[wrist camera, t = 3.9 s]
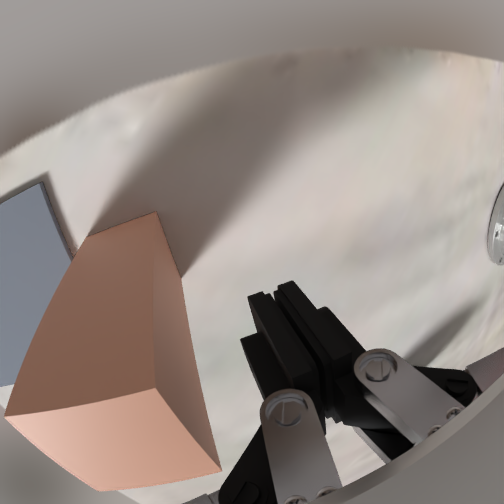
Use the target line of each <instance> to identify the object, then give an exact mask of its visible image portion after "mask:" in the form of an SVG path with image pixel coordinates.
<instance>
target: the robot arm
mask: <svg viewBox="0 0 504 504" xmlns="http://www.w3.org/2000/svg"><path fill="white" fill-rule="evenodd" d="M488 252H489V257H490V259H491V260H492V261H493V262H494V263H496V264H497V265H503V264H504V186H503V188H502V190H501V191H500V194H499V196H498V198H497V201H496V204H495V206H494V210H493V213H492V217H491V222H490V226H489V233H488ZM274 298H275V300H274V299H273V297H272V296H271V294H270V293H268V294H264V293H263V292H259V293H256V294H253V295H250V296H248V302H249V305H250V309H251V312H252V316H253V319H254V323H255V326H256V330H257V333H255V334H252V335H250V336H247V337H244V338H241V339H240V341H241V344H242V347H243V350H244V352H245V355H246V358H247V361H248V363H249V366H250V368H251V371H252V373H253V376H254V378H255V381H256V383H257V385H258V388H259V390H260V392H261V395H262V397H263V399H264V402H263V403H262V405H261V408H260V420H261V425H260V427H259V429H258V430H257V432H256V434H255V435H254V437H253V438H252V440H251V442H250V443H249V445H248V446H247V448H246V450H245V451H244V453H243V454H242V456H241V457H240V459H239V461H238V462H237V464H236V465H235V467H234V468H233V470H232V471H231V473H230V474H229V476H228V477H227V479H226V480H225V482H224V483H223V485H222V486H221V488H220V490H218V491H216V492H213V493H211V494H209V495H207V494H204V495H201V496H199V497H197V498H195V499H192V500H190V501H188V502H185V503H183V504H504V348H501V349H499V350H498V351H496V352H494V353H492V354H490V355H488V356H486V357H484V358H482V359H480V360H478V361H476V362H474V363H472V364H470V365H468V366H466V368H465V370H463V371H462V370H456V369H442V368H429V367H418V366H412V365H410V364H409V363H408V362H406V361H405V360H404V359H402V358H401V357H400V356H399V355H397V354H396V353H394V352H392V351H391V350H387V349H372V350H368V351H366V350H365V349H364V348H363V347H362V346H361V345H360V343H359V342H358V341H357V340H356V339H355V338H354V337H353V335H352V334H351V333H350V332H349V331H348V330H347V329H346V327H345V326H344V325H343V324H342V323H341V322H340V321H339V319H338V318H337V317H336V316H335V315H334V314H333V313H332V311H331V310H330V309H329V308H328V307H322V308H320V309H316V307H315V306H314V305H313V304H312V303H311V301H310V300H309V299H308V298H307V297H306V295H305V294H304V293H303V292H302V291H301V289H300V288H299V287H298V286H297V285H296V283H295V282H294V281H289V282H286V283H284V284H281V285H278V290H276V291H274ZM325 417H326V418H327V419H328V418H330V417H332V418H333V420H334V421H335V423H339V422H341V421H342V422H343V424H344V425H348V426H352V427H353V429H354V431H355V432H356V433H357V434H358V435H359V436H360V437H361V438H362V439H363V440H364V441H365V443H366V444H367V445H368V446H369V447H370V448H371V449H372V450H373V451H374V452H375V453H376V454H377V455H378V456H379V457H380V458H381V459H382V460H383V461H384V462H385V463H386V465H384V466H382V467H380V468H379V469H377V470H375V471H373V472H371V473H370V474H368V475H366V476H364V477H362V478H360V479H358V480H356V481H354V482H352V483H350V484H348V485H346V486H344V487H342V484H341V481H340V478H339V475H338V472H337V469H336V466H335V463H334V461H333V458H332V455H331V452H330V449H329V446H328V443H327V441H326V438H325V435H326V424H325Z"/></svg>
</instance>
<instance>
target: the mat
mask: <svg viewBox="0 0 504 504" xmlns="http://www.w3.org/2000/svg"><path fill="white" fill-rule="evenodd" d="M72 260H73V256H72V254H71V252H70V250H69V248H68V245H67V243H66V241H65V239H64V236H63V234H62V232H61V229H60V227H59V224H58V222H57V219H56V217H55V214H54V212H53V209H52V207H51V204H50V201H49V199H48V196H47V193H46V190H45V187H44V185H43V182H41V183H39V184H37V185H35V186H33V187H31V188H29V189H27V190H25V191H23V192H21V193H19V194H18V195H16V196H14V197H12V198H10V199H8V200H7V201H5V202H3V203H1V204H0V387H2V386H7V385H12V384H15V381H16V379H17V376H18V373H19V371H20V368H21V365H22V363H23V360H24V358H25V355H26V353H27V351H28V348H29V346H30V343H31V341H32V339H33V337H34V334H35V332H36V330H37V328H38V326H39V323H40V321H41V319H42V317H43V315H44V313H45V311H46V309H47V307H48V305H49V303H50V301H51V299H52V297H53V295H54V293H55V291H56V289H57V287H58V285H59V283H60V282H61V280H62V278H63V276H64V274H65V272H66V271H67V269H68V267H69V265H70V264H71V262H72Z"/></svg>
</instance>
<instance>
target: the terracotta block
mask: <svg viewBox="0 0 504 504" xmlns="http://www.w3.org/2000/svg"><path fill="white" fill-rule="evenodd" d="M4 418H5V419H6V420H7V421H9V422H10V423H11V424H12V425H13V426H14V427H15V428H16V429H17V430H18V431H19V432H20V433H21V434H22V435H23V436H25V437H26V438H27V439H28V440H29V441H30V442H31V443H33V444H34V445H35V446H36V447H37V448H39V449H40V450H41V451H42V452H43V453H45V454H46V455H47V456H48V457H50V458H51V459H52V460H53V461H55V462H56V463H57V464H59V465H60V466H61V467H63V468H64V469H66V470H67V471H69V472H70V473H71V474H73V475H74V476H76V477H77V478H78V479H80V480H81V481H83V482H84V483H86V484H87V485H89V486H91V487H92V488H94V489H96V490H97V491H110V490H122V489H132V488H140V487H147V486H154V485H161V484H167V483H172V482H177V481H183V480H187V479H192V478H197V477H201V476H205V475H209V474H213V473H217V472H221V471H222V468H221V465H220V461H219V458H218V454H217V450H216V446H215V443H214V439H213V435H212V431H211V427H210V423H209V419H208V415H207V410H206V406H205V402H204V397H203V393H202V389H201V384H200V379H199V375H198V370H197V365H196V360H195V355H194V350H193V345H192V340H191V334H190V329H189V323H188V318H187V312H186V306H185V300H184V294H183V287H182V281H181V277H180V275H179V272H178V269H177V267H176V264H175V261H174V259H173V256H172V253H171V251H170V248H169V245H168V243H167V240H166V237H165V234H164V231H163V229H162V226H161V223H160V220H159V217H158V214H157V211H156V212H153V213H150V214H148V215H145V216H142V217H139V218H136V219H133V220H131V221H128V222H125V223H122V224H120V225H117V226H114V227H112V228H109V229H106V230H104V231H101V232H99V233H96V234H93V235H91V236H88V237H86V238H85V240H84V242H83V243H82V245H81V247H80V248H79V250H78V252H77V253H76V255H75V257H74V258H73V260H72V262H71V264H70V265H69V267H68V269H67V271H66V272H65V274H64V276H63V278H62V280H61V282H60V283H59V285H58V287H57V289H56V291H55V293H54V295H53V297H52V299H51V301H50V303H49V305H48V307H47V309H46V311H45V313H44V315H43V317H42V319H41V321H40V323H39V326H38V328H37V330H36V332H35V334H34V337H33V339H32V341H31V343H30V346H29V348H28V351H27V353H26V355H25V358H24V360H23V363H22V365H21V368H20V371H19V373H18V376H17V379H16V381H15V384H14V387H13V390H12V393H11V396H10V399H9V402H8V405H7V408H6V411H5V415H4Z"/></svg>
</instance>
